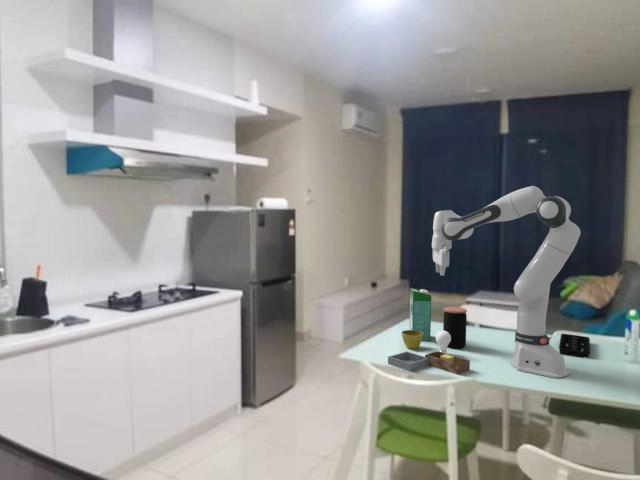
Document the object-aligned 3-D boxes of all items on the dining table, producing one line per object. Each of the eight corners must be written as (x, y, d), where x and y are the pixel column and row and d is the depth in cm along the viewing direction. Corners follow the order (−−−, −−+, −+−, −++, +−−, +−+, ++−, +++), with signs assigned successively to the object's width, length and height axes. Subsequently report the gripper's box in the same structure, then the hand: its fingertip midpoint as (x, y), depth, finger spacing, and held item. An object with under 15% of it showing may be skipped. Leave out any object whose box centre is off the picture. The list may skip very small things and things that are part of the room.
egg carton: (587, 342, 238) (587, 335, 238) (604, 360, 209) (604, 352, 209) (548, 339, 243) (549, 332, 243) (560, 357, 214) (560, 348, 214)
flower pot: (417, 352, 218) (417, 336, 218) (397, 348, 224) (397, 333, 224) (426, 347, 226) (426, 332, 226) (407, 343, 232) (407, 328, 232)
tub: (428, 366, 198) (429, 358, 198) (410, 372, 190) (410, 363, 190) (406, 359, 207) (406, 351, 207) (387, 364, 200) (388, 356, 199)
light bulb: (440, 351, 219) (440, 328, 218) (453, 354, 214) (453, 330, 213) (432, 354, 214) (433, 330, 214) (445, 358, 210) (446, 333, 209)
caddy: (469, 371, 193) (469, 360, 192) (457, 375, 187) (457, 364, 187) (436, 361, 205) (437, 351, 205) (424, 365, 200) (425, 354, 199)
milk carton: (430, 340, 238) (431, 290, 237) (412, 339, 238) (413, 290, 237) (426, 335, 247) (427, 287, 246) (409, 335, 248) (410, 287, 246)
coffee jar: (463, 343, 233) (464, 307, 232) (467, 349, 222) (469, 311, 221) (441, 342, 234) (442, 306, 233) (444, 348, 223) (445, 311, 222)
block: (453, 367, 196) (454, 356, 195) (448, 369, 193) (448, 358, 193) (445, 364, 199) (445, 354, 199) (439, 366, 196) (440, 356, 196)
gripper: (453, 246, 211) (451, 277, 212) (444, 242, 231) (442, 270, 233) (439, 246, 211) (437, 277, 212) (430, 242, 232) (429, 270, 233)
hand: (440, 273), depth 223 cm, fingers open, 8 cm apart
